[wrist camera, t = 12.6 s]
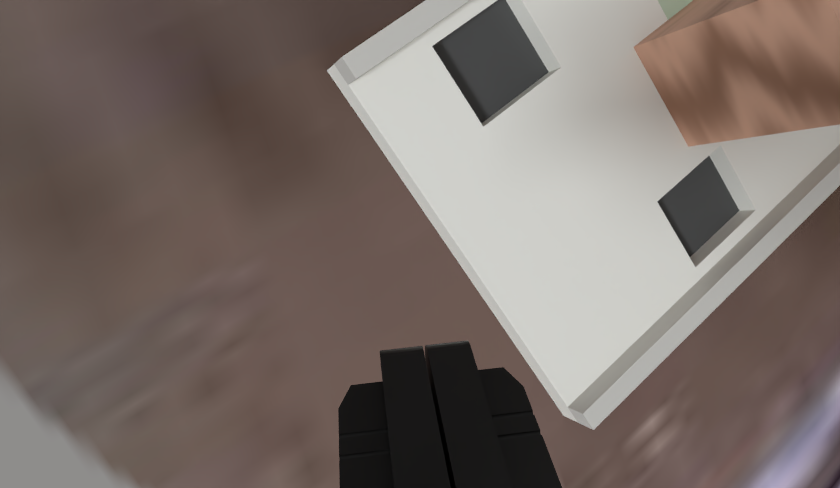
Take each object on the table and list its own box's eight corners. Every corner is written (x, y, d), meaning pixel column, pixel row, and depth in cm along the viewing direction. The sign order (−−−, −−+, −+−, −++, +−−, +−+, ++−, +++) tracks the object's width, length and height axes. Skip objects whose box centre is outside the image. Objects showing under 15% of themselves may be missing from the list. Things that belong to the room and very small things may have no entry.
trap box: (326, 70, 35) (341, 57, 32) (722, -198, 44) (761, -227, 41) (563, 415, 41) (593, 429, 38) (871, 117, 49) (914, 110, 46)
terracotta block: (633, 47, 40) (818, -23, 29) (769, -60, 43) (981, -159, 32) (688, 146, 41) (884, 117, 30) (815, 36, 45) (1032, -27, 34)
